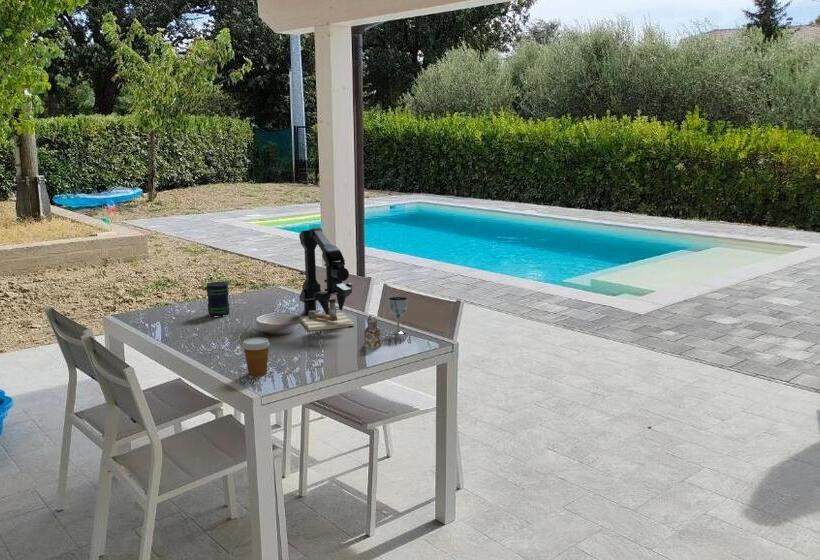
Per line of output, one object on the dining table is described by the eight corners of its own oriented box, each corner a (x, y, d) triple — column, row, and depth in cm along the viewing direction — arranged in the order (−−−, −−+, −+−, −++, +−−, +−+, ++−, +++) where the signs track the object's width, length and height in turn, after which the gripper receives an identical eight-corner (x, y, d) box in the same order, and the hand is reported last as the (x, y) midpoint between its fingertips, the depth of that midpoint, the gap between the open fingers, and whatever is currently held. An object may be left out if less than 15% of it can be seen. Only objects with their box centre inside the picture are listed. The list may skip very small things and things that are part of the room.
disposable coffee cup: (238, 376, 267) (236, 343, 264) (253, 368, 275) (251, 336, 273) (262, 378, 263) (260, 345, 261) (276, 370, 272) (274, 338, 270)
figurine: (364, 348, 298) (363, 319, 296) (362, 344, 305) (361, 315, 303) (382, 347, 299) (381, 318, 297) (379, 342, 306) (379, 314, 304)
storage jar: (211, 318, 349) (209, 286, 346) (205, 314, 358) (203, 283, 355) (232, 315, 354) (230, 284, 351) (226, 311, 362) (224, 280, 360)
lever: (307, 317, 342) (306, 296, 340) (312, 315, 344) (312, 294, 342) (332, 322, 331) (331, 301, 329) (338, 321, 334) (337, 299, 332)
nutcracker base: (300, 320, 344) (299, 308, 343) (342, 316, 351) (342, 304, 350) (309, 330, 326) (308, 318, 325) (354, 326, 332) (353, 314, 331)
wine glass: (408, 330, 325) (408, 296, 322) (406, 335, 317) (406, 300, 314) (390, 330, 325) (389, 296, 323) (387, 335, 318) (387, 300, 315)
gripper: (332, 282, 318) (333, 318, 322) (360, 275, 333) (361, 310, 336) (313, 280, 325) (314, 315, 328) (341, 273, 340) (342, 307, 343)
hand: (333, 312), depth 334 cm, fingers open, 9 cm apart
